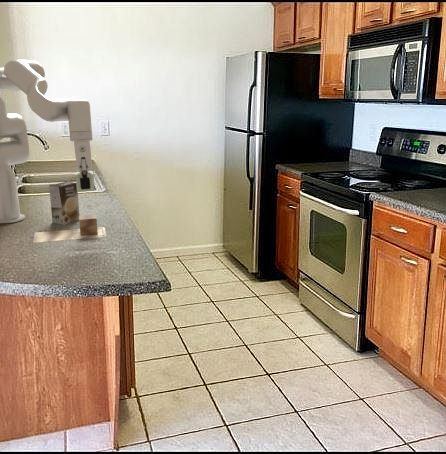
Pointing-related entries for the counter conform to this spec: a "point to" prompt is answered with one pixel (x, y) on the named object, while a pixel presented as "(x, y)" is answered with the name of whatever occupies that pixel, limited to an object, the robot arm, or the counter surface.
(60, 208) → the coffee box
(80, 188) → the sage block
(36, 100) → the robot arm
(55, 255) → the counter surface
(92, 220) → the walnut block
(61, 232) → the board
